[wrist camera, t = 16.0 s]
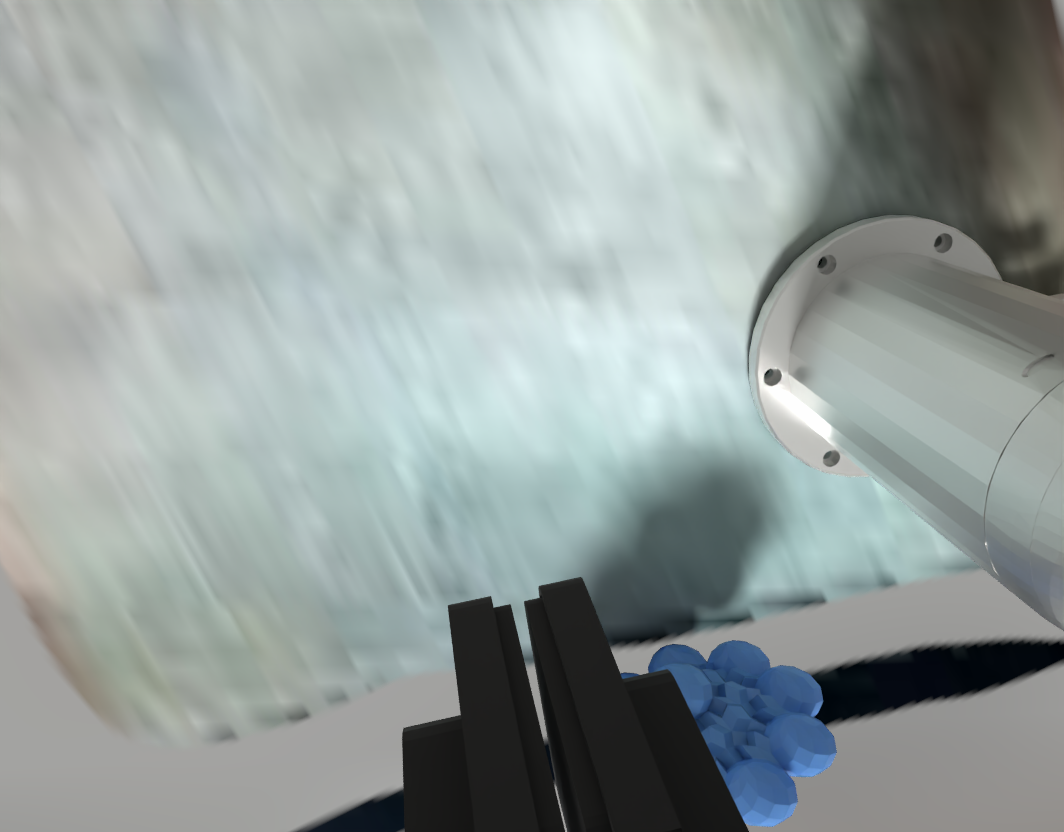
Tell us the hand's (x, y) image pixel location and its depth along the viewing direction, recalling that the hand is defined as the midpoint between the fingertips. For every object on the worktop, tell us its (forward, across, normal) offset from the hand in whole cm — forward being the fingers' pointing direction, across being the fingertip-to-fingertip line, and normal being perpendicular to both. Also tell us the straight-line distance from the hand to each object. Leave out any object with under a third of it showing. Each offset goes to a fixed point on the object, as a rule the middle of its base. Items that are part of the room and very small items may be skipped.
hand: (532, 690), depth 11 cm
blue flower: (+29, -8, +22) cm, 38 cm away
